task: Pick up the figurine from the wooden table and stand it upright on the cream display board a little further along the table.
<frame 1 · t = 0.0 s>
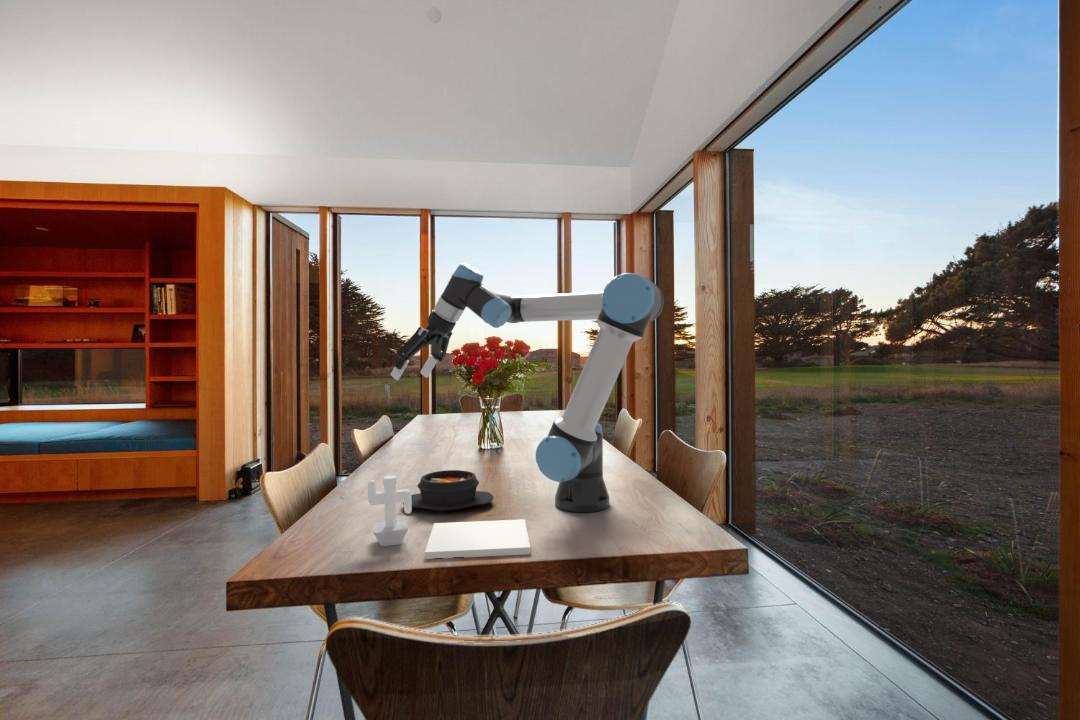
hand: (409, 376, 149), 36 cm above the table, tool tilted 35°, fingers open, 13 cm apart
display board: (479, 540, 117), on the table
casserole: (448, 506, 144), on the table
figurine: (390, 542, 117), on the table
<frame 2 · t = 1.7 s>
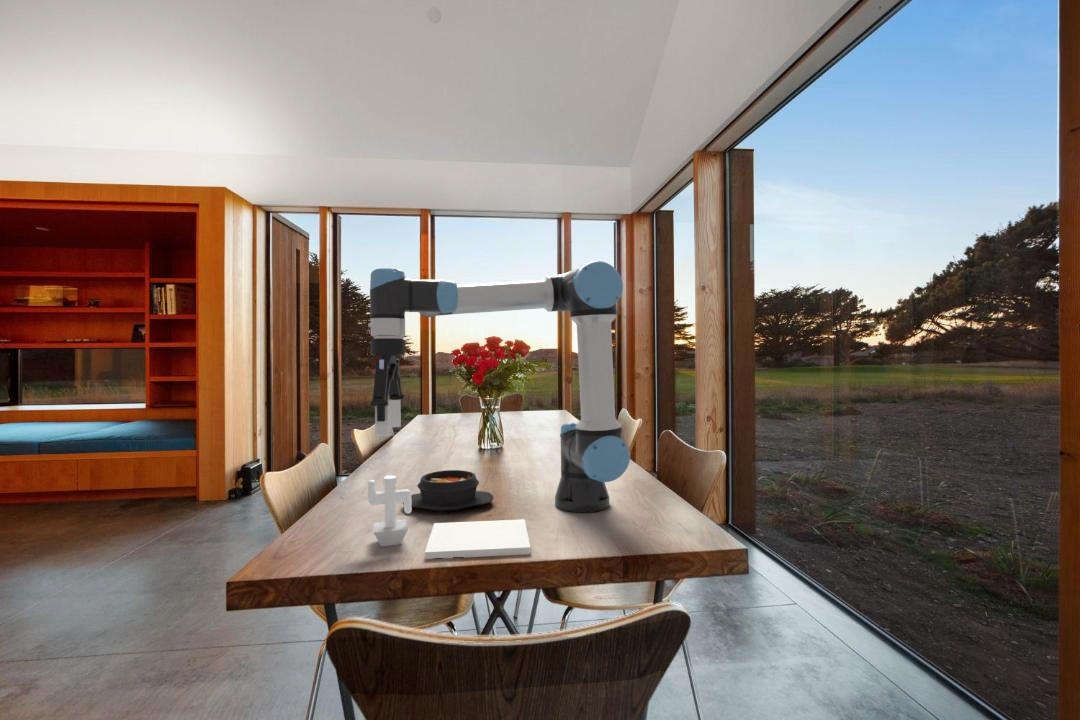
hand: (388, 431, 117), 25 cm above the table, tool pointing down, fingers open, 13 cm apart
nothing on the table moved.
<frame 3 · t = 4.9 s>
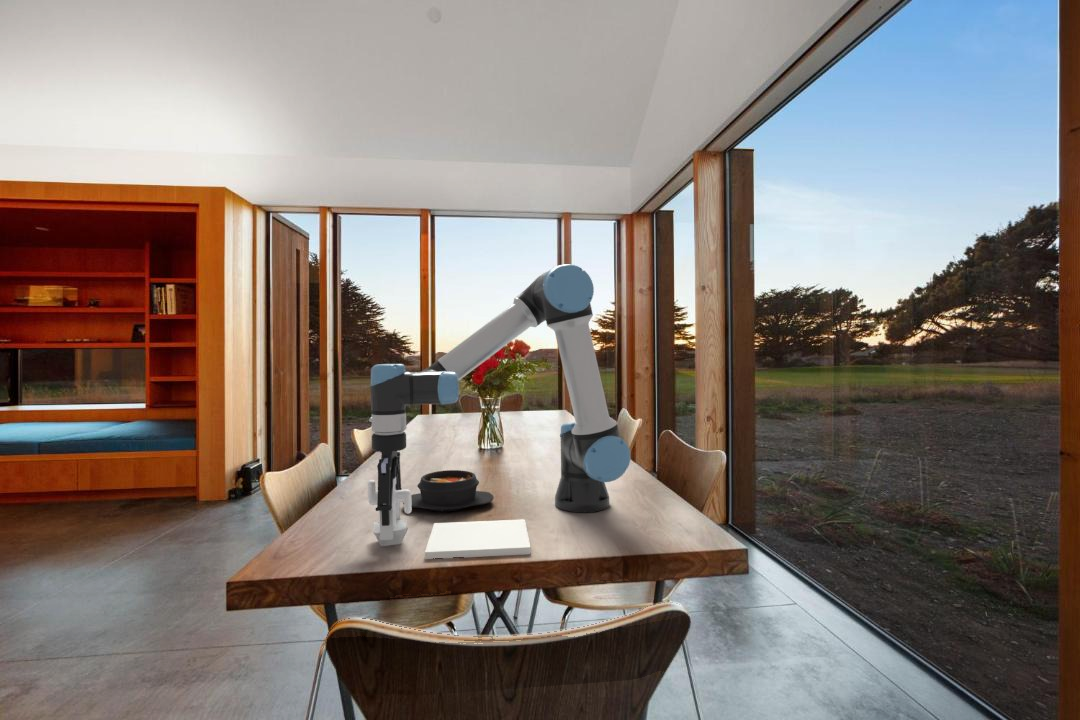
hand: (390, 531, 117), 2 cm above the table, tool pointing down, fingers closed on figurine, 8 cm apart
figurine: (390, 542, 117), on the table, touching gripper
everything else where it was.
when the fingers open (5 cm above the table, at t = 12.5 s): figurine drops 1 cm, resting on display board.
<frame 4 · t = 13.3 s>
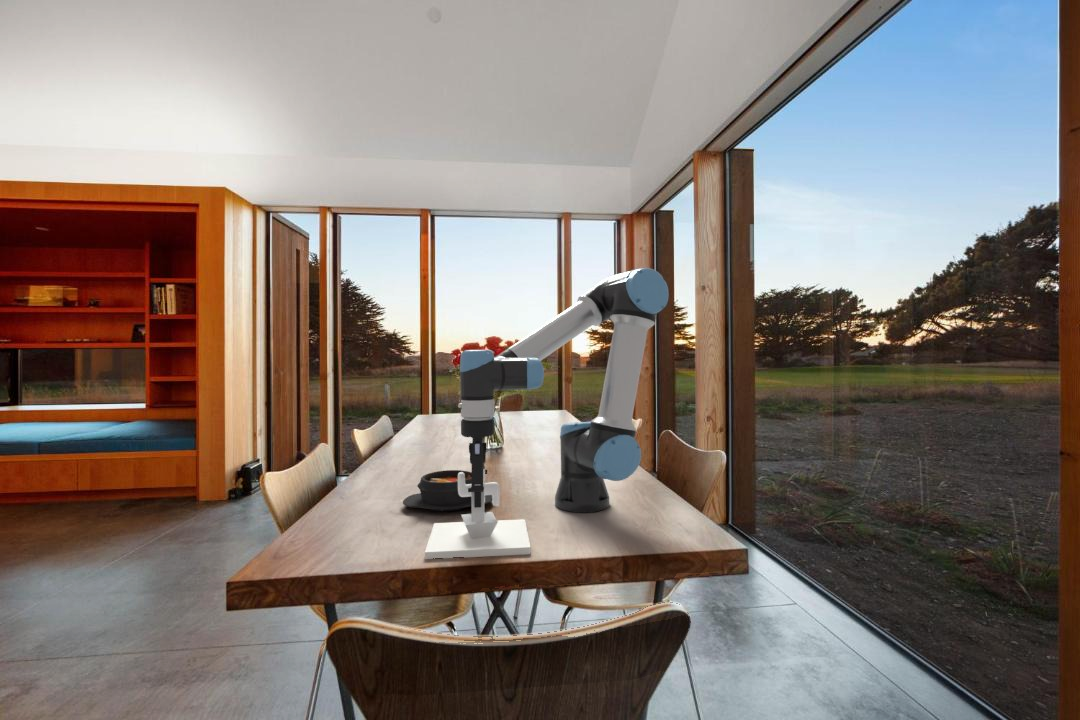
hand: (478, 511, 117), 7 cm above the table, tool pointing down, fingers open, 13 cm apart
figurine: (479, 535, 117), point 1 cm above the table, touching display board
everything else where it was.
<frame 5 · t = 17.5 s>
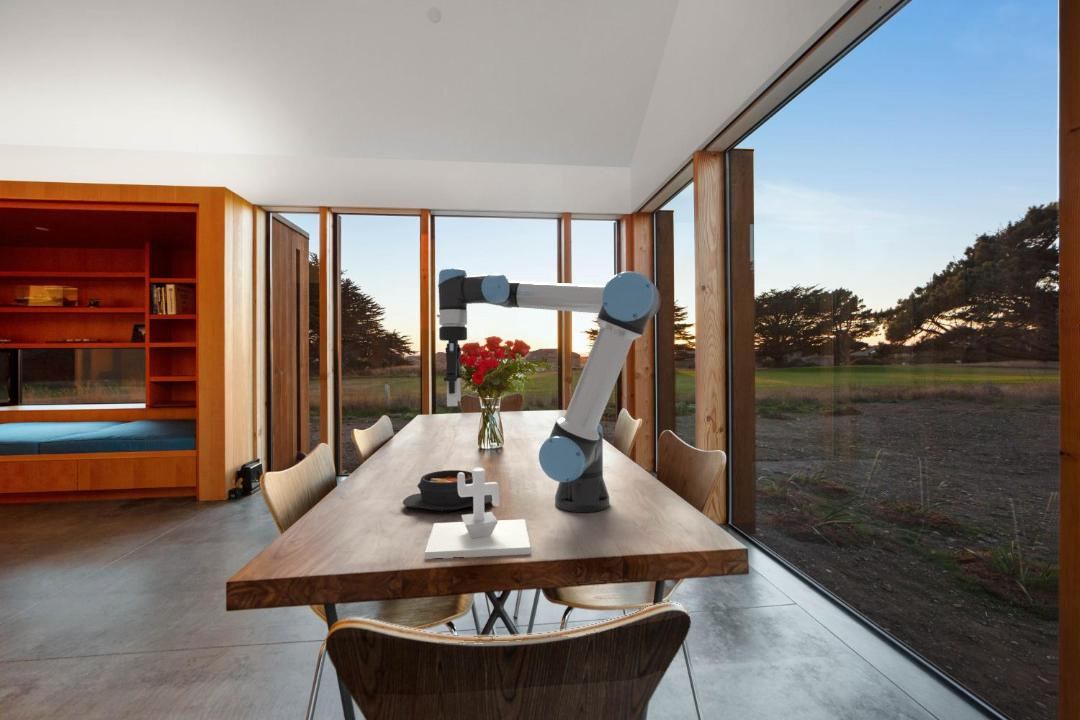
hand: (454, 403, 141), 29 cm above the table, tool pointing down, fingers open, 13 cm apart
nothing on the table moved.
at the end: figurine inside the target area on the display board (0.0 cm from its centre), point 1.3 cm above the display board's base; figurine tilted 0°; the gripper is holding nothing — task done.
